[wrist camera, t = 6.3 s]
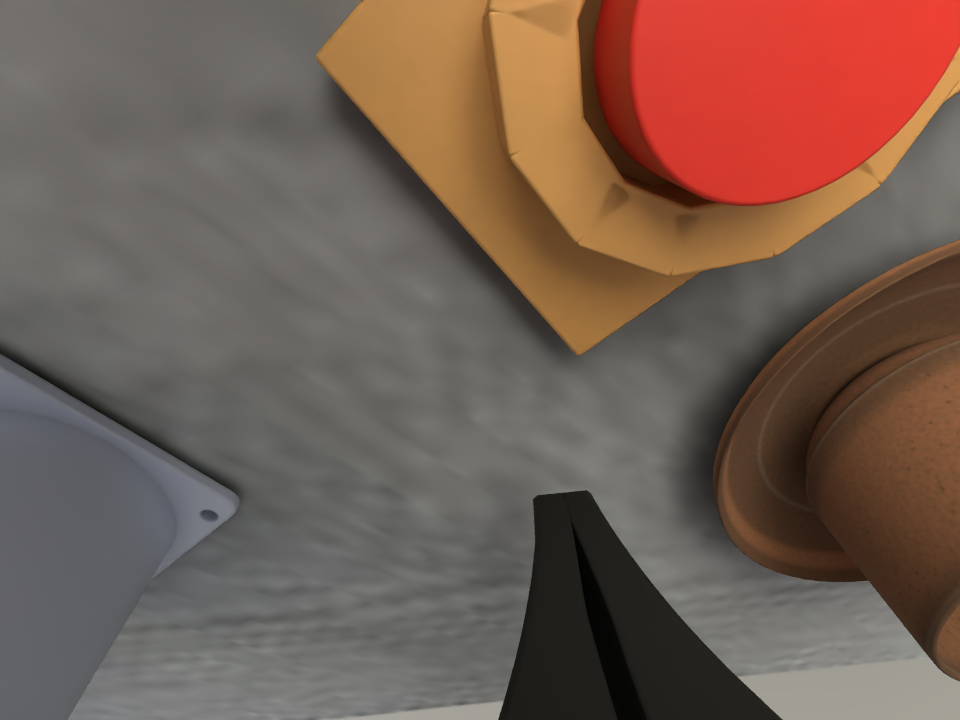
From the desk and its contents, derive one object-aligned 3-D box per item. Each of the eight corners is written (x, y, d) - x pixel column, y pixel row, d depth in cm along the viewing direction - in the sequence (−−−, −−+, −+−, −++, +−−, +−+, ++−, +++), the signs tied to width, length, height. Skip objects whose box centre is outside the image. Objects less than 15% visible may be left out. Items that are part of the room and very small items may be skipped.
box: (566, 331, 13) (598, 403, 10) (330, 59, 9) (278, 53, 6) (976, 35, 9) (1186, 21, 7) (847, -541, 6) (1169, -1041, 3)
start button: (672, 230, 8) (720, 265, 7) (538, 18, 7) (561, 3, 5) (907, 57, 7) (1027, 53, 6) (815, -258, 5) (950, -379, 4)
